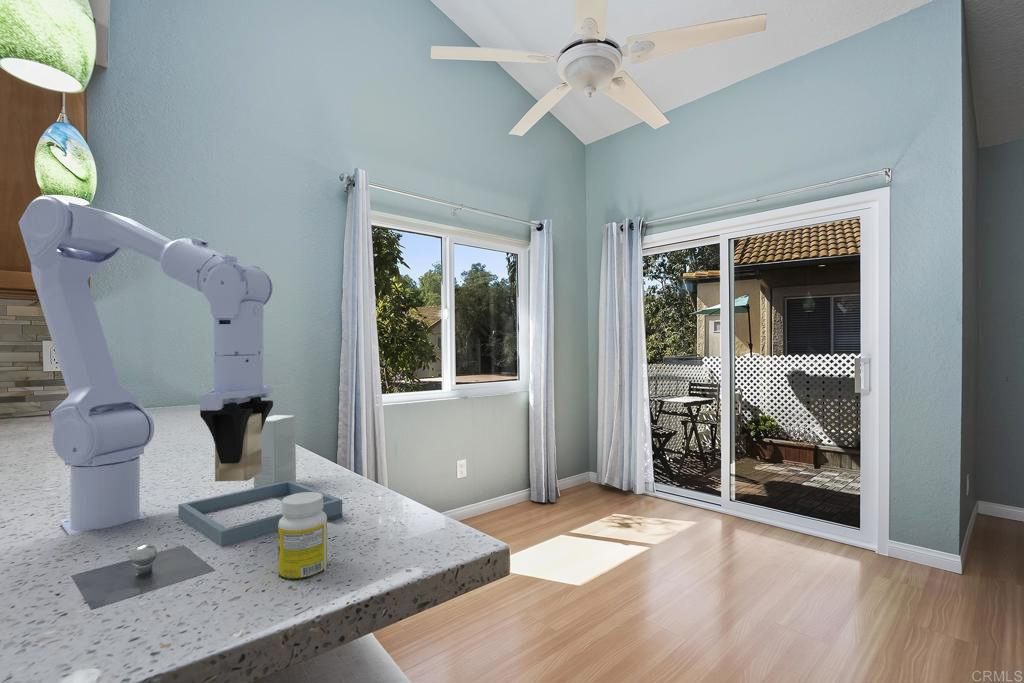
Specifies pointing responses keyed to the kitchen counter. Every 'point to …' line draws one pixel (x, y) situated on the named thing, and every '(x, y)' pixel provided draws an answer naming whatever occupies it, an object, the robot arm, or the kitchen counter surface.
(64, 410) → the robot arm
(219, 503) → the bin
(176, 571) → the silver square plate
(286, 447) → the skincare box
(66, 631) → the kitchen counter surface
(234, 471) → the strut
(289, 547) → the supplement bottle
